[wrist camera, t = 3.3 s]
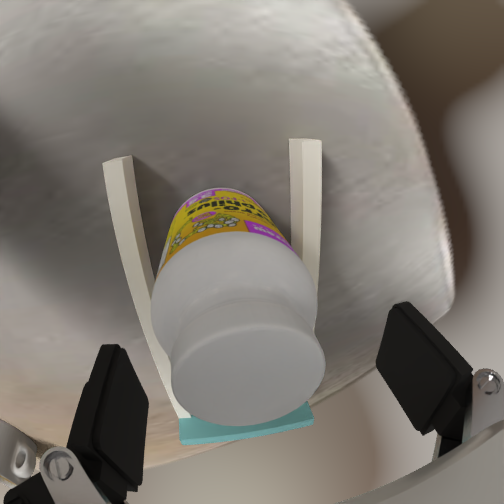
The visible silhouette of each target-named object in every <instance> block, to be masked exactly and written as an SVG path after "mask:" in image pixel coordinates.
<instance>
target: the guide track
mask: <svg viewBox="0 0 504 504" xmlns="http://www.w3.org/2000/svg"><path fill="white" fill-rule="evenodd" d="M289 158H290V196H291V247H292V248H293V250H294V251H295V252H296V254H297V255H298V256H299V258H300V259H301V260H302V262H303V263H304V265H305V266H306V268H307V269H308V271H309V272H310V274H311V276H312V279H313V281H314V284H315V288H316V292H317V293H318V278H319V261H320V239H321V204H322V147H321V140H315V139H307V138H302V139H289ZM102 165H103V171H104V178H105V184H106V190H107V196H108V201H109V206H110V212H111V216H112V221H113V226H114V231H115V235H116V239H117V244H118V248H119V252H120V256H121V260H122V264H123V267H124V271H125V275H126V278H127V282H128V285H129V289H130V292H131V295H132V299H133V302H134V305H135V308H136V311H137V314H138V318H139V321H140V324H141V326H142V329H143V332H144V335H145V338H146V341H147V343H148V346H149V349H150V351H151V354H152V357H153V359H154V362H155V364H156V367H157V369H158V372H159V374H160V377H161V379H162V382H163V384H164V386H165V389H166V391H167V393H168V396H169V398H170V400H171V402H172V405H173V407H174V409H175V411H176V413H177V415H178V417H179V435H180V441H181V443H182V445H193V444H205V443H215V442H224V441H232V440H239V439H246V438H251V437H258V436H263V435H268V434H274V433H278V432H283V431H287V430H292V429H296V428H301V427H305V426H308V425H312V424H313V421H314V416H313V414H312V412H311V409H310V407H309V404H308V402H307V401H306V402H305V403H304V404H302V405H301V406H300V407H298V408H297V409H295V410H294V411H292V412H290V413H288V414H286V415H284V416H282V417H280V418H277V419H275V420H271V421H268V422H264V423H260V424H255V425H248V426H225V425H218V424H214V423H210V422H207V421H204V420H201V419H199V418H197V417H195V416H193V415H191V414H190V413H189V412H187V411H186V410H185V409H184V408H183V407H182V406H181V405H180V404H179V403H178V401H177V400H176V398H175V396H174V394H173V391H172V387H171V361H170V359H171V358H170V357H169V356H168V355H167V354H166V352H165V351H164V350H163V348H162V347H161V345H160V344H159V342H158V340H157V338H156V336H155V334H154V330H153V327H152V322H151V298H152V292H153V287H154V284H155V279H154V275H153V271H152V266H151V262H150V257H149V253H148V248H147V243H146V238H145V233H144V228H143V223H142V218H141V212H140V206H139V200H138V194H137V188H136V181H135V174H134V167H133V159H132V155H130V156H124V157H119V158H114V159H112V160H109V161H106V162H104V163H102ZM314 329H315V324H314V327H313V332H314Z"/></svg>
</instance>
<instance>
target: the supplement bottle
mask: <svg viewBox="0 0 504 504" xmlns="http://www.w3.org/2000/svg"><path fill="white" fill-rule="evenodd" d="M317 308H318V300H317V292H316V288H315V284H314V281H313V279H312V276H311V274H310V272H309V271H308V269H307V268H306V266H305V265H304V263H303V262H302V260H301V259H300V258H299V256H298V255H297V254H296V252H295V251H294V250H293V248H292V247H291V246H290V244H289V243H288V242H287V240H286V239H285V238H284V236H283V235H282V234H281V232H280V231H279V230H278V228H277V227H276V226H275V224H274V223H273V222H272V220H271V219H270V218H269V216H268V215H267V214H266V212H265V211H264V210H263V208H262V207H261V206H260V205H259V204H258V203H257V202H256V201H255V200H254V199H253V198H252V197H250V196H249V195H247V194H245V193H243V192H241V191H238V190H235V189H231V188H212V189H207V190H204V191H201V192H199V193H197V194H195V195H193V196H192V197H190V198H189V199H188V200H187V201H186V202H184V203H183V204H182V206H181V207H180V208H179V209H178V211H177V212H176V214H175V216H174V218H173V220H172V223H171V226H170V229H169V232H168V236H167V239H166V243H165V246H164V250H163V253H162V257H161V261H160V265H159V269H158V272H157V276H156V280H155V284H154V287H153V292H152V298H151V322H152V327H153V330H154V334H155V336H156V338H157V340H158V342H159V344H160V345H161V347H162V348H163V350H164V351H165V352H166V354H167V355H168V356H169V357H170V358H171V359H170V361H171V387H172V391H173V394H174V396H175V398H176V400H177V401H178V403H179V404H180V405H181V406H182V407H183V408H184V409H185V410H186V411H187V412H189V413H190V414H191V415H193V416H195V417H197V418H199V419H201V420H204V421H207V422H210V423H214V424H218V425H225V426H248V425H255V424H260V423H264V422H268V421H271V420H275V419H277V418H280V417H282V416H284V415H286V414H288V413H290V412H292V411H294V410H295V409H297V408H298V407H300V406H301V405H302V404H304V403H305V402H306V401H307V400H308V399H309V398H310V397H311V396H312V395H313V394H314V393H315V391H316V390H317V389H318V387H319V385H320V383H321V382H322V379H323V377H324V373H325V366H326V363H325V356H324V352H323V350H322V348H321V346H320V343H319V341H318V340H317V338H316V336H315V334H314V332H313V327H314V324H315V321H316V317H317Z"/></svg>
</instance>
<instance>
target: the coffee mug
mask: <svg viewBox="0 0 504 504" xmlns="http://www.w3.org/2000/svg"><path fill="white" fill-rule="evenodd" d="M36 452H37V446H36V444H35V443H34V442H33V441H32V440H31V439H30V438H29V437H28V436H26V435H25V434H24V433H22V432H21V431H20V430H18V429H17V428H15V427H14V426H12V425H10V424H8V423H6V422H5V421H2V420H0V482H1V483H2V484H4V485H6V486H8V487H10V488H14V487H15V486H17V485H19V484H21V483H22V482H24V481H26V480H27V479H29V478H31V475H32V474H33V472H34V469H35V465H36Z"/></svg>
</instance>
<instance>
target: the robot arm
mask: <svg viewBox="0 0 504 504" xmlns="http://www.w3.org/2000/svg"><path fill="white" fill-rule="evenodd" d="M376 367H377V369H378V371H379V372H380V373H381V375H382V377H383V378H384V380H385V381H386V383H387V385H388V386H389V388H390V389H391V391H392V392H393V394H394V396H395V397H396V398H397V400H398V402H399V404H400V405H401V407H402V408H403V410H404V412H405V413H406V415H407V416H408V418H409V420H410V421H411V423H412V425H413V426H414V428H415V429H416V430H417V431H420V432H421V434H422V435H425V434H427V433H429V432H431V431H433V430H434V429H435V430H436V431H437V438H436V444H435V449H434V454H433V458H432V462H431V463H429V464H427V465H425V466H424V467H422V468H420V469H418V470H416V471H414V472H412V473H410V474H408V475H406V476H404V477H402V478H400V479H398V480H395V481H393V482H391V483H389V484H386V485H384V486H382V487H379V488H377V489H375V490H372V491H369V492H367V493H364V494H361V495H359V496H356V497H353V498H350V499H347V500H344V501H341V502H338V503H335V504H504V382H503V379H502V378H501V376H500V375H499V374H498V373H497V372H495V371H494V370H491V369H484V368H483V369H480V370H478V371H477V372H475V374H474V376H473V375H472V374H471V372H472V371H473V368H472V367H471V366H470V365H469V364H468V363H467V361H466V360H465V359H464V358H463V357H462V356H461V355H460V354H459V353H458V351H456V349H455V348H454V347H453V346H452V345H451V344H450V343H449V342H448V341H447V340H446V339H445V338H444V337H443V335H441V333H440V332H439V331H438V330H437V329H436V328H435V327H434V326H433V325H432V324H431V323H430V322H429V321H428V320H427V319H426V318H425V317H424V316H423V315H422V314H421V313H420V312H419V311H418V310H417V309H416V308H415V307H414V306H413V305H412V304H411V303H410V302H407V301H406V302H402V303H398V304H395V305H394V306H393V307H392V309H391V310H390V311H389V314H388V318H387V322H386V326H385V330H384V334H383V338H382V341H381V345H380V348H379V352H378V355H377V359H376ZM148 408H149V402H148V398H147V395H146V393H145V391H144V389H143V387H142V385H141V383H140V381H139V379H138V377H137V375H136V373H135V370H134V368H133V366H132V364H131V362H130V359H129V357H128V355H127V352H126V350H125V349H124V348H121V347H120V346H119V345H118V344H106V345H102V346H101V347H100V350H99V353H98V356H97V358H96V361H95V364H94V367H93V370H92V372H91V375H90V378H89V381H88V382H87V383H86V384H85V386H84V388H83V391H82V394H81V397H80V401H79V404H78V407H77V410H76V414H75V417H74V421H73V424H72V428H71V431H70V435H69V439H68V443H67V447H66V448H65V447H53V448H50V449H49V450H47V451H46V452H45V453H44V454H43V456H42V457H41V460H40V467H39V469H40V472H39V473H38V474H36V475H34V476H32V477H31V478H29V479H27V480H26V481H24V482H22V483H21V484H19V485H17V486H15V487H14V488H12V489H10V490H9V491H8V492H7V493H6V495H5V497H4V504H129V503H128V502H127V501H126V496H127V491H133V492H137V491H138V485H139V486H140V485H141V484H142V480H143V463H144V449H145V437H146V426H147V417H148Z"/></svg>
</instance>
